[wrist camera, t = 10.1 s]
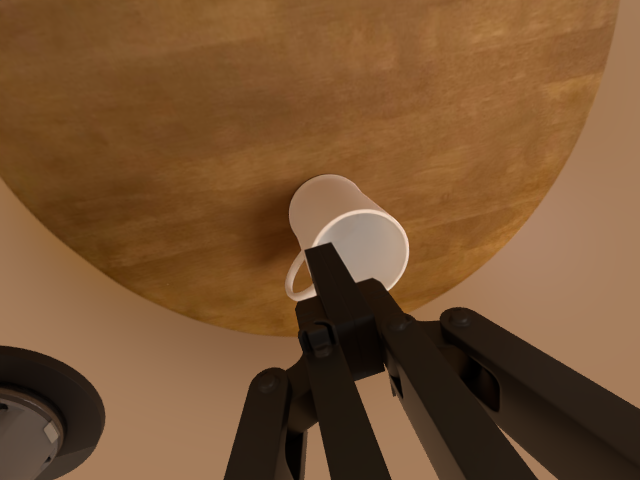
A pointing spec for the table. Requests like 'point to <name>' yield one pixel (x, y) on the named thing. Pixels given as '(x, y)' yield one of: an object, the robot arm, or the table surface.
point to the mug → (346, 232)
